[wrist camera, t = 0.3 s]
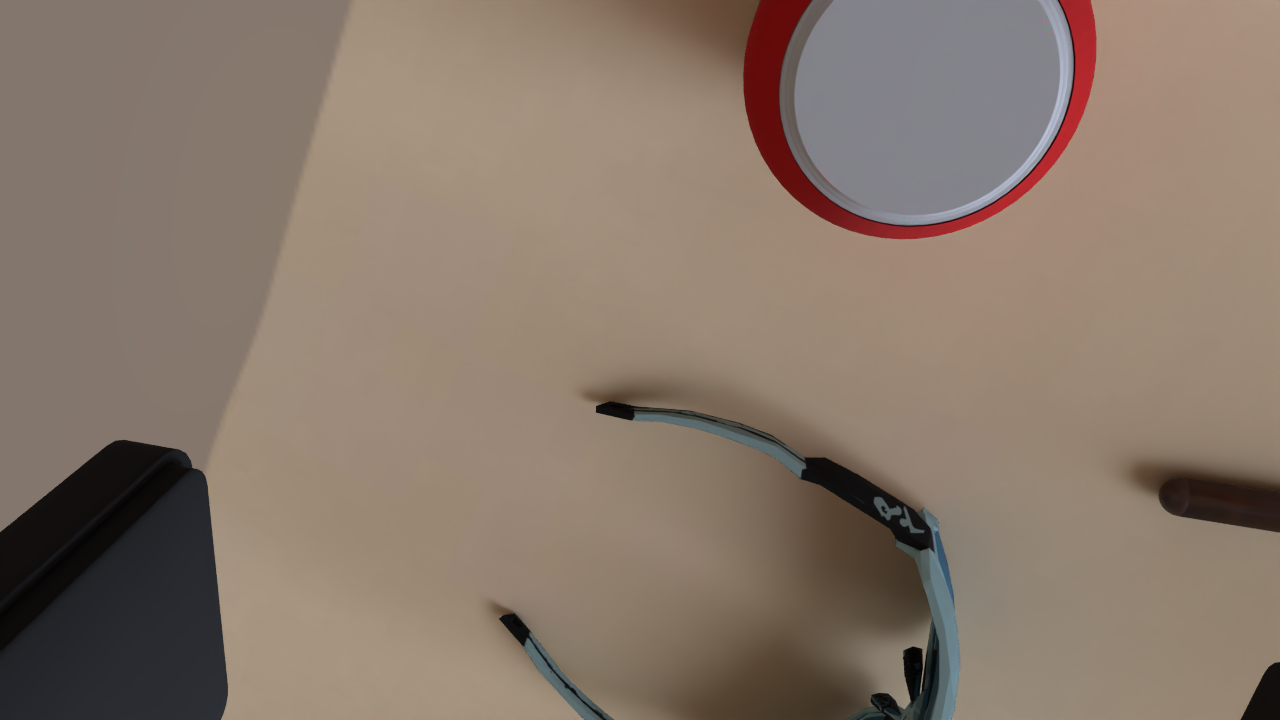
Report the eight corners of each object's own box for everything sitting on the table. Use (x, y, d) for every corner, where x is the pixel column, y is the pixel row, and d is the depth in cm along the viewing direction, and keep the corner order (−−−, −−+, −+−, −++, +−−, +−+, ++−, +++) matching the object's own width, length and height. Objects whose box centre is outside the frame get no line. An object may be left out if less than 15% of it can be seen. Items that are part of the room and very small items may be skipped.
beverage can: (716, 23, 28) (663, 105, 17) (882, -168, 26) (939, -210, 15) (872, 171, 29) (911, 333, 18) (1045, 1, 27) (1208, 75, 16)
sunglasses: (839, 800, 39) (826, 908, 35) (506, 619, 41) (452, 701, 36) (1039, 534, 33) (1054, 625, 29) (638, 329, 34) (593, 385, 30)
